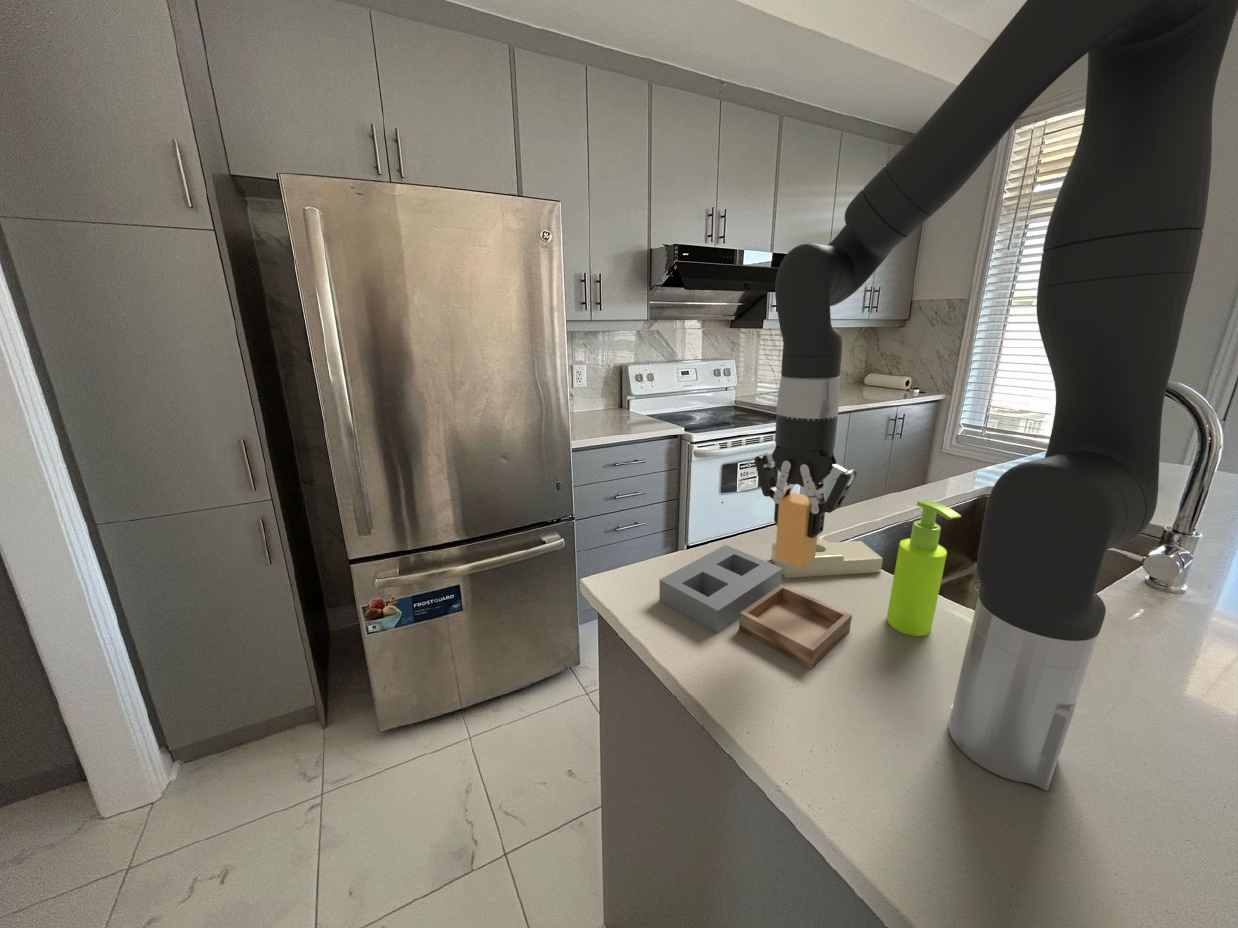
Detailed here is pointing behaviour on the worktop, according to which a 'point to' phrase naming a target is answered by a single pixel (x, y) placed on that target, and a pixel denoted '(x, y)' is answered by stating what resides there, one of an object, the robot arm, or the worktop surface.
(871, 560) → the electrical outlet
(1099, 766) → the worktop surface
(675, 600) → the cinder block
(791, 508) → the plug
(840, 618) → the tray
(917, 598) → the soap dispenser
